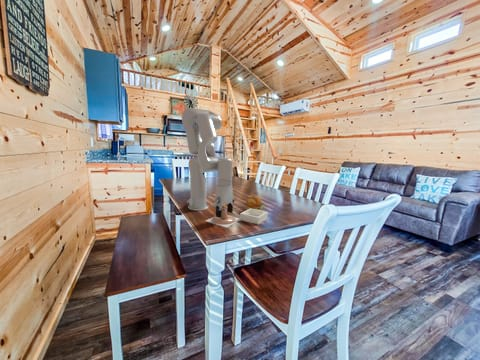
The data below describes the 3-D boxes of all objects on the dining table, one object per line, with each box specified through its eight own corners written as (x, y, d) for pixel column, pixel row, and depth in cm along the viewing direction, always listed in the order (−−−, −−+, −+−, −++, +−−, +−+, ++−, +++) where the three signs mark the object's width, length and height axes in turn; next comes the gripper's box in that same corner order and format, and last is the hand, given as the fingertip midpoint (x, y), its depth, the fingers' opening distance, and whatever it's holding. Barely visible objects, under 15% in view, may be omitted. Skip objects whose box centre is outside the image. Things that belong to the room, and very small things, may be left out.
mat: (204, 221, 108) (204, 220, 108) (221, 214, 120) (221, 213, 120) (226, 228, 101) (226, 227, 101) (242, 219, 113) (242, 219, 113)
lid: (207, 220, 109) (207, 209, 108) (221, 214, 119) (221, 203, 118) (226, 226, 102) (226, 213, 101) (239, 219, 112) (240, 207, 111)
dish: (239, 220, 112) (240, 213, 111) (250, 214, 121) (250, 208, 120) (258, 225, 106) (258, 217, 105) (267, 219, 115) (268, 212, 114)
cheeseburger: (266, 209, 131) (265, 195, 127) (258, 218, 122) (257, 203, 119) (251, 206, 136) (250, 192, 132) (243, 214, 127) (242, 200, 124)
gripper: (228, 179, 116) (228, 209, 119) (207, 184, 102) (208, 217, 104) (240, 181, 112) (239, 211, 115) (220, 185, 98) (219, 220, 100)
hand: (224, 214), depth 110 cm, fingers open, 9 cm apart
